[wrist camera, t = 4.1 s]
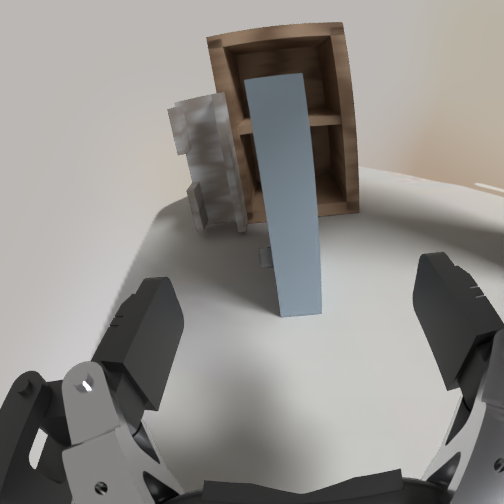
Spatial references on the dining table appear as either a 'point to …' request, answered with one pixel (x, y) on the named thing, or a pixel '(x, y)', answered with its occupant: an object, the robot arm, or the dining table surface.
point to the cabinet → (240, 128)
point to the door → (287, 190)
